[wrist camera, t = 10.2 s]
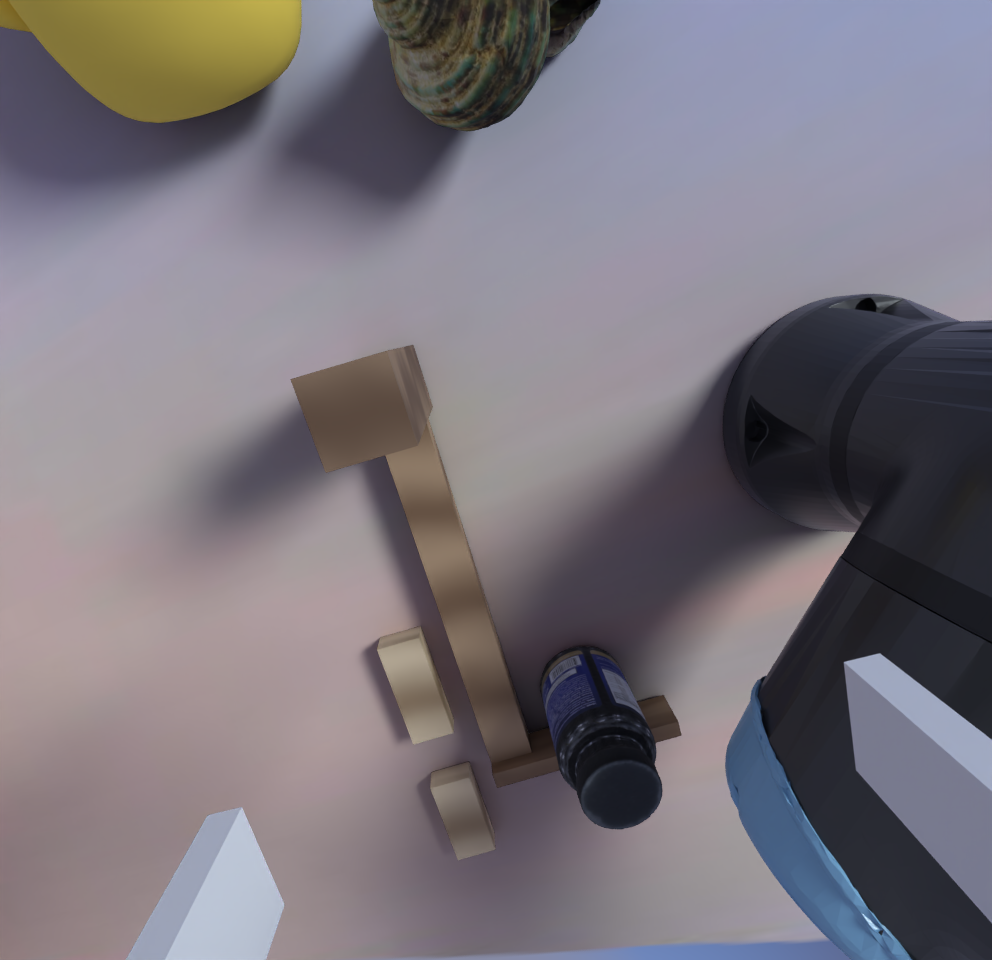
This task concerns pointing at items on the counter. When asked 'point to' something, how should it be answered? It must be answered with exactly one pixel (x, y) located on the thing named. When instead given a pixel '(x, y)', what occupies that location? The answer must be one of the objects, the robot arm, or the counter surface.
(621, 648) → the counter surface
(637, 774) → the pill bottle
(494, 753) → the wooden stand
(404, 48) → the seashell
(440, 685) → the broken strip
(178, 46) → the yellow faceted lidded jar
